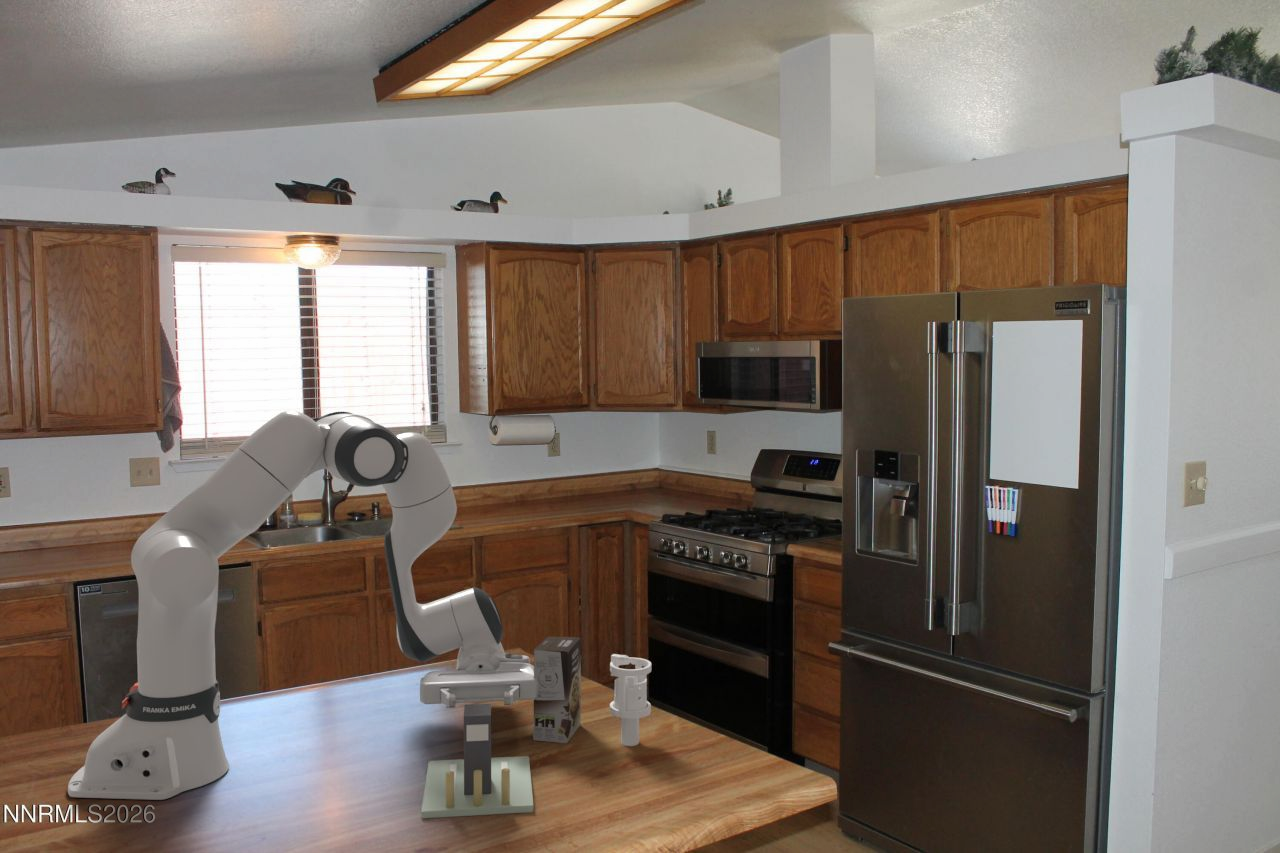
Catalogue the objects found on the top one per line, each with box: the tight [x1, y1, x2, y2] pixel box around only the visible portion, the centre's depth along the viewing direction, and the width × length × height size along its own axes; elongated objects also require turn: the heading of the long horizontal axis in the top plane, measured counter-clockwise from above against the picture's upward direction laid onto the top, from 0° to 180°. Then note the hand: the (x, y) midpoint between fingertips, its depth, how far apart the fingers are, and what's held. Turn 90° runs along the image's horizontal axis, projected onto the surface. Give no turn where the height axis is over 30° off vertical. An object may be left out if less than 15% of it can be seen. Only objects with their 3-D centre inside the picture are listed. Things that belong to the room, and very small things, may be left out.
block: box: [463, 703, 492, 795], centre depth 153 cm, size 4×5×12 cm
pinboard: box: [420, 755, 534, 819], centre depth 156 cm, size 16×18×6 cm
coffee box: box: [532, 635, 582, 744], centre depth 178 cm, size 9×6×16 cm
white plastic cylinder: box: [609, 653, 652, 747], centre depth 174 cm, size 7×7×15 cm
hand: (479, 701), depth 168 cm, fingers open, 8 cm apart
